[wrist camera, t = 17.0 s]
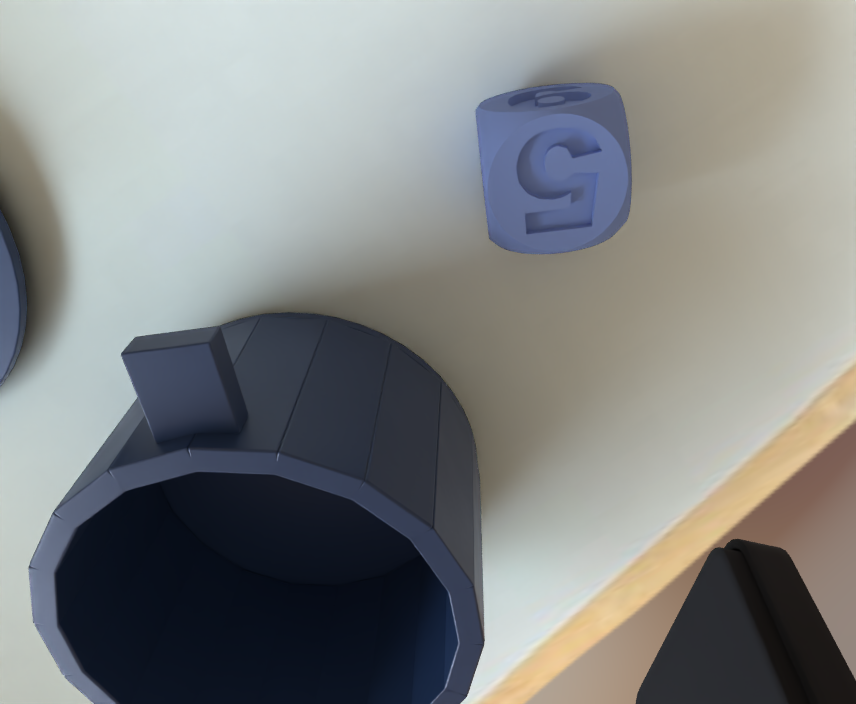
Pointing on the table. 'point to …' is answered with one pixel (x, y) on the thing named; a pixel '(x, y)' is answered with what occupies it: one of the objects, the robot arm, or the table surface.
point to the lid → (10, 301)
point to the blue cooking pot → (271, 527)
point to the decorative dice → (554, 167)
